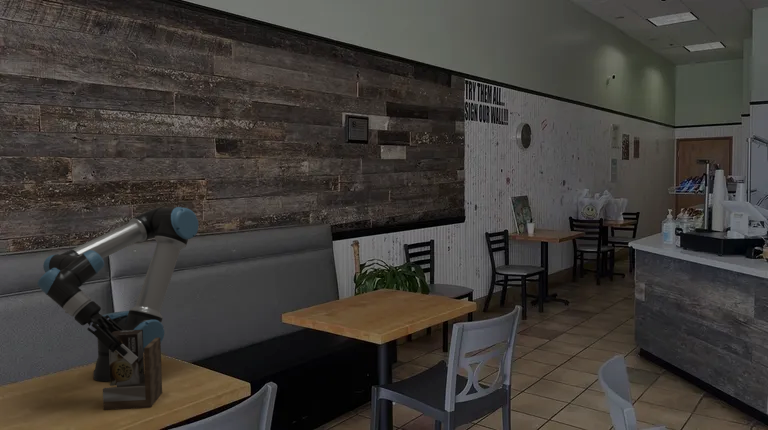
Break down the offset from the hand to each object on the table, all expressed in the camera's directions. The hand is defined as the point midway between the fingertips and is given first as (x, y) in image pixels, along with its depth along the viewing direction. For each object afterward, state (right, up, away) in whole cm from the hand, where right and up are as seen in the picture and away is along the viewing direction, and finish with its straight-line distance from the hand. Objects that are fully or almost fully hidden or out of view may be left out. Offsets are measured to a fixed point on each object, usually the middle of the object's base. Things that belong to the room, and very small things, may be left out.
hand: (138, 357), depth 193 cm
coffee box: (-3, -8, 0) cm, 9 cm away
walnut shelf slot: (-1, -14, +1) cm, 14 cm away
